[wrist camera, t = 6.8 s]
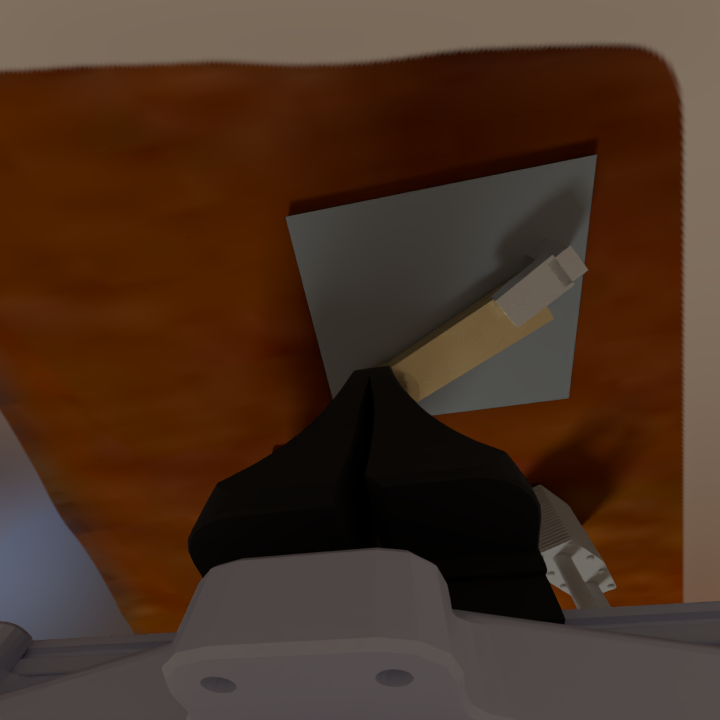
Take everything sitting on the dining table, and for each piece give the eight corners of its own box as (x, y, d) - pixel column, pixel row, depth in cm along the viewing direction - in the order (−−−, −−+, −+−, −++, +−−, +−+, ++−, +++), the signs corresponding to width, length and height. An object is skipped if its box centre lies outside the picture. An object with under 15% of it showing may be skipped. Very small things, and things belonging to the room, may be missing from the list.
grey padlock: (500, 501, 28) (562, 649, 19) (545, 478, 26) (635, 626, 17) (543, 543, 30) (616, 695, 21) (586, 524, 28) (684, 677, 20)
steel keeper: (501, 312, 20) (517, 327, 17) (480, 288, 19) (495, 301, 17) (563, 262, 18) (590, 272, 16) (543, 235, 18) (568, 242, 15)
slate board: (564, 393, 23) (568, 398, 22) (340, 421, 24) (339, 426, 24) (589, 155, 16) (597, 154, 16) (288, 216, 18) (285, 216, 18)
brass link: (384, 417, 23) (384, 426, 22) (351, 381, 22) (350, 389, 21) (548, 316, 19) (556, 322, 18) (519, 266, 18) (526, 270, 17)
